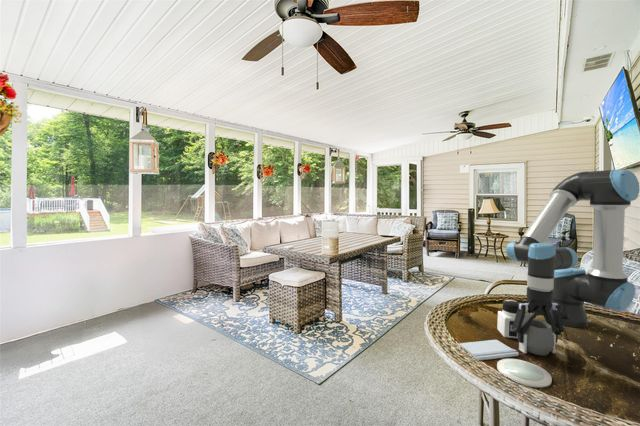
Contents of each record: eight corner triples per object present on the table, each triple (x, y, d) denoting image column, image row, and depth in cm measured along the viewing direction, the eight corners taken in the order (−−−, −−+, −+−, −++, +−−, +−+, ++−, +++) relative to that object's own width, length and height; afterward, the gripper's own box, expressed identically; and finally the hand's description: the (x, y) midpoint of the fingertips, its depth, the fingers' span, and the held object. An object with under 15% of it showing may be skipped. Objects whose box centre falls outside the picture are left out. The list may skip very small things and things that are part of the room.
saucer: (529, 361, 102) (529, 357, 102) (564, 387, 88) (564, 383, 88) (487, 361, 102) (487, 358, 102) (515, 387, 88) (516, 384, 88)
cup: (542, 361, 102) (543, 331, 102) (514, 348, 111) (516, 321, 110) (559, 355, 106) (561, 326, 106) (531, 343, 115) (533, 317, 114)
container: (526, 339, 118) (527, 305, 117) (504, 337, 120) (505, 304, 119) (517, 330, 126) (519, 299, 125) (496, 329, 127) (498, 297, 126)
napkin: (496, 342, 116) (496, 338, 115) (518, 355, 106) (518, 352, 106) (458, 346, 112) (458, 342, 112) (477, 360, 103) (477, 356, 102)
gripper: (562, 285, 111) (559, 345, 113) (501, 285, 111) (499, 346, 112) (580, 291, 104) (576, 356, 105) (515, 291, 103) (512, 357, 104)
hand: (536, 351), depth 109 cm, fingers closed on cup, 9 cm apart
